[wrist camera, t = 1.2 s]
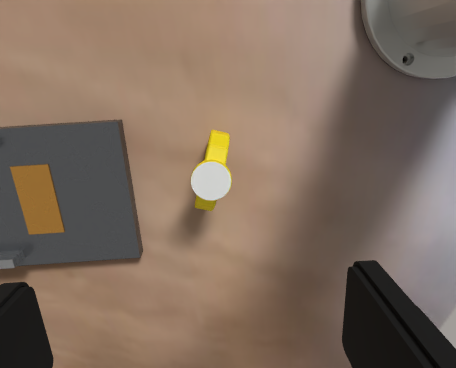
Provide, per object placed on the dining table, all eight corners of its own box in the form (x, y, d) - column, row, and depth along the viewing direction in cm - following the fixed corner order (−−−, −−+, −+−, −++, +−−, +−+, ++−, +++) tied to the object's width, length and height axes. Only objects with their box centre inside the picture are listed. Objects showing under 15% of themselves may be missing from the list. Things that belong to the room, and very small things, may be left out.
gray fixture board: (121, 119, 26) (111, 124, 23) (142, 250, 30) (135, 267, 27) (-130, 135, 26) (-168, 141, 23) (-76, 265, 29) (-104, 283, 27)
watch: (220, 197, 28) (220, 227, 23) (189, 191, 28) (181, 219, 22) (236, 131, 26) (241, 145, 21) (203, 123, 26) (199, 136, 20)
